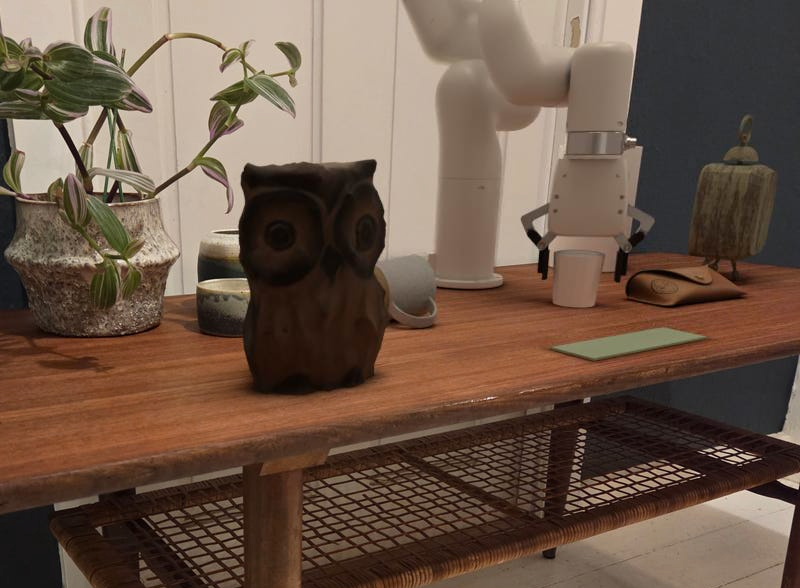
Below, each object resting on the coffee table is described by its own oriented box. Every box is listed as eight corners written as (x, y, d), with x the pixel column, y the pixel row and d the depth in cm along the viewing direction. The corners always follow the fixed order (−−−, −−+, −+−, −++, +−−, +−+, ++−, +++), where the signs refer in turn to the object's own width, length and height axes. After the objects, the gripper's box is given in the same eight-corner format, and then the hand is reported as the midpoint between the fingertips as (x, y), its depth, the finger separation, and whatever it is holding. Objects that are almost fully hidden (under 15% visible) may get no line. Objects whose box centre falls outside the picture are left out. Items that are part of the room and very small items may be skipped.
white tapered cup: (571, 310, 119) (578, 257, 116) (537, 301, 124) (543, 250, 122) (609, 306, 122) (616, 254, 119) (574, 297, 127) (580, 248, 125)
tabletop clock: (704, 271, 153) (731, 115, 144) (760, 276, 148) (792, 115, 139) (681, 281, 142) (708, 113, 133) (741, 287, 137) (774, 114, 128)
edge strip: (593, 361, 93) (593, 358, 93) (550, 349, 98) (550, 346, 97) (706, 338, 103) (706, 336, 103) (662, 329, 108) (662, 327, 108)
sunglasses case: (673, 304, 120) (659, 258, 121) (633, 322, 126) (620, 278, 127) (752, 294, 129) (739, 251, 130) (711, 311, 135) (699, 270, 136)
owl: (390, 372, 87) (399, 158, 80) (347, 407, 77) (353, 163, 69) (274, 359, 92) (272, 155, 84) (217, 390, 81) (210, 159, 73)
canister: (629, 263, 160) (646, 146, 152) (620, 274, 148) (638, 147, 141) (554, 258, 165) (567, 144, 157) (540, 268, 153) (553, 145, 146)
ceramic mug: (348, 316, 113) (350, 255, 110) (398, 309, 117) (401, 250, 114) (401, 333, 105) (405, 267, 102) (452, 325, 109) (457, 262, 106)
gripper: (661, 147, 117) (644, 278, 123) (527, 147, 121) (517, 274, 127) (666, 147, 110) (648, 286, 116) (524, 147, 114) (514, 281, 120)
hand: (580, 280), depth 121 cm, fingers open, 9 cm apart
